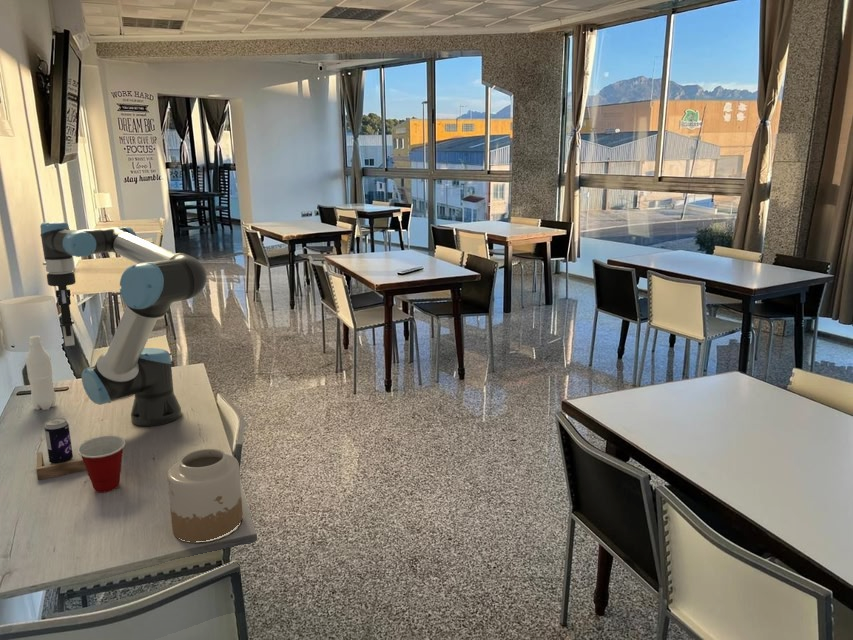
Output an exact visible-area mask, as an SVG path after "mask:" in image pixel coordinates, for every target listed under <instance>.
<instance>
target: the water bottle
mask: <svg viewBox="0 0 853 640" xmlns="http://www.w3.org/2000/svg"><path fill="white" fill-rule="evenodd" d="M28 344H29V345H30V346H29V347H30V348H29V351H28V353H27V354H26V357H25V364H26V372H27V380H28V382H29V385H30V392H31V393H30V394H31V396H30V400H31V405H32V407H33V408H34V409H35V410H36V411H39V410H42V411H43V410H44V411H46V410H49V409H50V408H53V407H55V406H56V403H57V395H56V392H55V389H54V384H53V369H52V361H51V356H50V354H49V353H48V352H47V351H46V350H45V348H44V346H43V341H42V339H41V336H40V335H31V336H29V343H28Z"/></svg>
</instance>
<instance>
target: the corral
mask: <svg viewBox="0 0 853 640" xmlns="http://www.w3.org/2000/svg"><path fill="white" fill-rule="evenodd" d="M44 463H45V461H44V455H43V451H39V452H37V453H36V469H35V470H36V475H37V480H38V481H39V480H44V479H49V478H53V477H59V476H63V475H68V474H69V475H70V474H74V473H79V472H84V471H87V469H86V466H85V463H84V461H83V459H82V458H78V459H74V460H73V459H71V460H70V461H67V462H62V463H57V464H53V463H51V464H48V465H45V464H44Z"/></svg>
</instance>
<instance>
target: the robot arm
mask: <svg viewBox="0 0 853 640" xmlns="http://www.w3.org/2000/svg"><path fill="white" fill-rule="evenodd" d="M39 228H40V234H39V235H40V237H41V244H42V245H41V247H42V252H43V259H44V261H43V262H42V265H43V266H45V271H46V272H47V273H46V281H47V285H48V286H50V287H58V289H56V290H55V297H56V298H57V305H58V306H60V307H59V308H60V313H61V324H59V326H60V327H62V333H63V339H64V346H65V347H69V346H70V347H71V346H76V345H75V344H76V343H75V335H74V328H73V327H74V326H73V325H74V324H75V321H72V317H71V308H70V305H72V301H71V296H72V293H71V289H68V288H67V286H72V285H75V284H76V275H75V272H74V270H75V265H74V258H73V257H76V258H81V257H82V258H83V257H89V256H91V255H96V254H105V253H114V254H116V255H118V256H121V257H123V258H125V259H127V260H130V261H132V262H134V263H136V264H133V265H130V266H129V267H127V268H126V269H125V270H124V271H123V273H122V274H121V276H120V281H119V286H120V287H121V288H119V292H120V296H121V298H122V301H123V302H124V305H125V309H124V312H123V314H122V316H121V319H120V321H119V323H118V326H117V328H116V330H115V332H114V335H113V337H112V339H111V342H110V345H109V346H108V348H107V351H106V352H104V353H102V354H101V355H99V357H98V358H97V361H96V363H95V365H94V366H89V367H87V368H84V369H83V370H82V373H81V382H82V386H83V389H84V391H85V393H86V395H87V397H88V398H89V400H90V401H91V402H92V403H94V404H97V405H99V406H100V405H105V404H110V403H112V402H115V401H119V400H122V399H124V398H128V397H130V396H134V400H133V404H132V407H131V412H130V421H131V423H132V424H134V425H135V426H136V425H137V426H139V427H155V426H160V425H165V424H168V423H172V422H174V421H176V420H178V419H179V418H180V417H181V416H182V408H181V405H180V403H179V401H178V399H177V396H176V395H175V392H174V383H173V370H172V360H171V354H170V352H169V351H167V350H166V349H163V348H159V347H157V348H155V347H146V344H147V343H148V340H149V339H150V336H151V334H152V331H153V330H154V327H155V325H156V323H157V321H158V319H159V318H163V317H164V316H165V315H167V313H168V312H169V309H170V307H171V305H172V304H173V303H176V302H180V301H185V300H190V299H193V298H195V297H197V296H198V295H200V293H201V292H202V291H203V290H204V288H205V286H206V284H207V270H206V268H205V266H204V265H203V264H202V262H200V261H199V260H198V259H197V258H196V257H194V256H191V255H189V254H187V253H184V252H178V253H176V252H173V251H171V250H168V249H167V248H164V247H163V246H160V245H157V244H155V243H153V242H150V241H148V240H146V239H143V238H141V237H139V236H137V233H136V231H134V229H133V228H132V227H129V226H115V227H103V228H101V227H100V228H91V229H89V228H87V229H76V230H75V229H73V230H72V229H71V228H70V226H69V224H68V223H67V221H46V222H45V221H44V222H42V223H40V227H39ZM180 415H181V416H180ZM178 417H179V418H178ZM177 418H178V419H177ZM175 419H176V420H175Z"/></svg>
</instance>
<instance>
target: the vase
mask: <svg viewBox="0 0 853 640" xmlns="http://www.w3.org/2000/svg"><path fill="white" fill-rule="evenodd" d="M166 475H167V477H166V478H167V488H168V499H169V509H170V510H169V511H170V518H171V527H172V528H171V529H172V533H173V535H174V537H175V538H177V537H178V538H180V539H182V540H185V541H190V542H196V541H206V540H210V539H214V538H217V537H219V536H222V535H224V534H226V533H228V532H230V531H231V530H233V529H234V528H235V527H236V526H237V525H239V523H240V522H241V520H242V521H243V518H242V516H243V502H242V501H243V500H242V499H243V498H242V489H241V487H242V486H241V472H240V463H239V461H238V459H237V458H236V457H235V456H233V455H231V454H228V453H225V452H224V451H223V450H220V449H217V448H203V449H197V450H193V451H191V452H188V453H186V454H185V455H183V456H182V457H181V458H180V460H178V461H176V463H174V464H172V465H171V466H170V468H169V469H168V471H167V474H166ZM243 517H244V516H243ZM178 538H177V539H178Z"/></svg>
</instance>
